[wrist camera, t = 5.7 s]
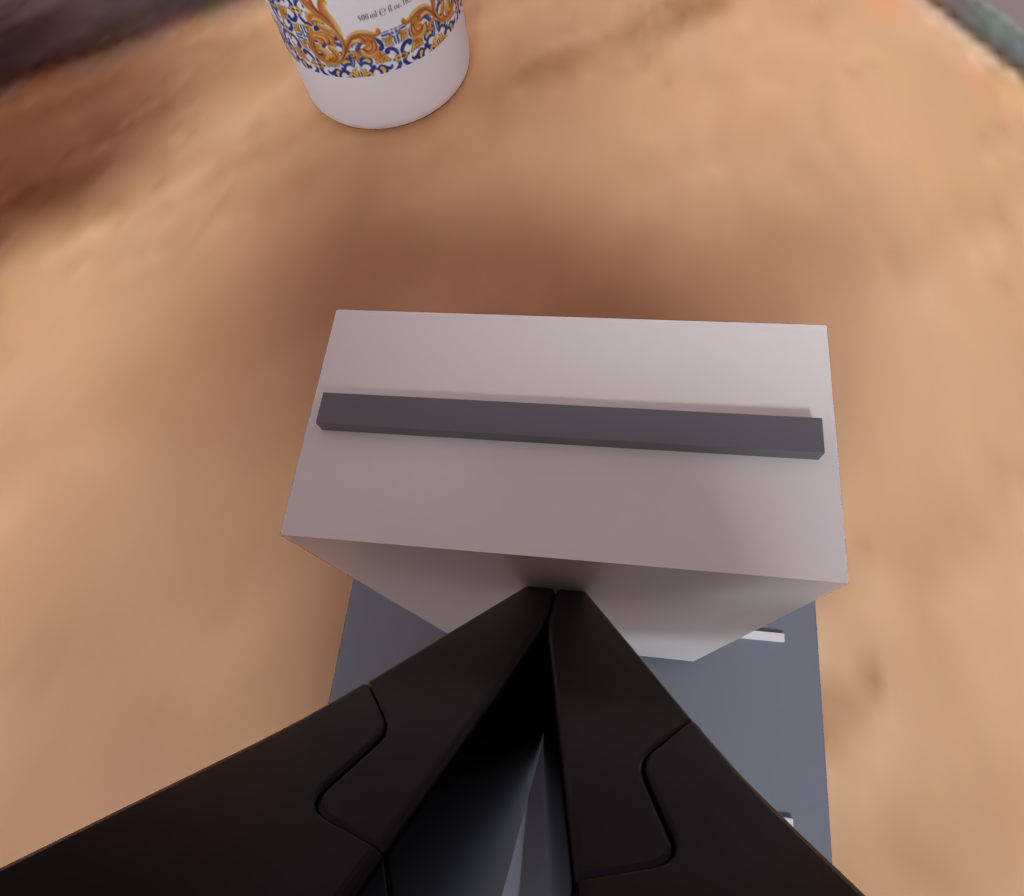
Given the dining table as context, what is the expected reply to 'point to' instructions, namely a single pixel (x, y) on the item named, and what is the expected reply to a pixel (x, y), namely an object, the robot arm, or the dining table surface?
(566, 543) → the fader knob
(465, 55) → the bath foam
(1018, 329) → the dining table surface
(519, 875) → the mixer panel
